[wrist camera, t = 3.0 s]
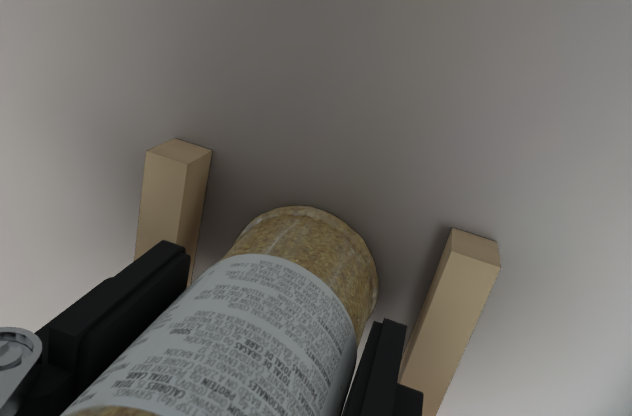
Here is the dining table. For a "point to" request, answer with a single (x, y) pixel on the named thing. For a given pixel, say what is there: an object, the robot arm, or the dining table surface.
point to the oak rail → (439, 305)
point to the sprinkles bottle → (253, 329)
